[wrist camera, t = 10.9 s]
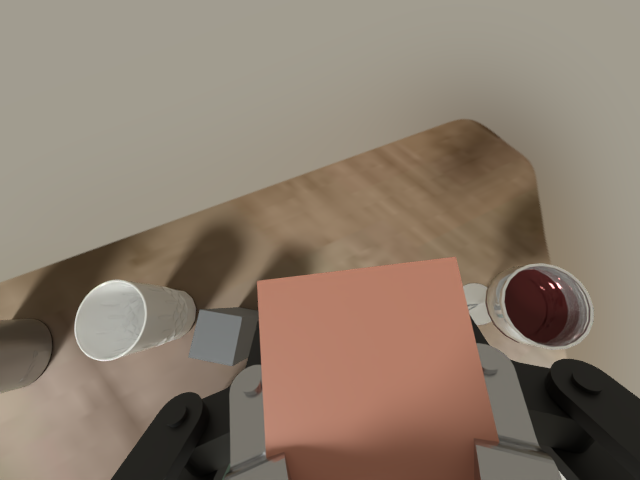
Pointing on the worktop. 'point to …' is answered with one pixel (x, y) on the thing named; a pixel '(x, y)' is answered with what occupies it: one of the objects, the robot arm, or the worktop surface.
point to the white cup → (131, 318)
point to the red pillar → (373, 374)
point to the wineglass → (534, 306)
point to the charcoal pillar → (224, 335)
